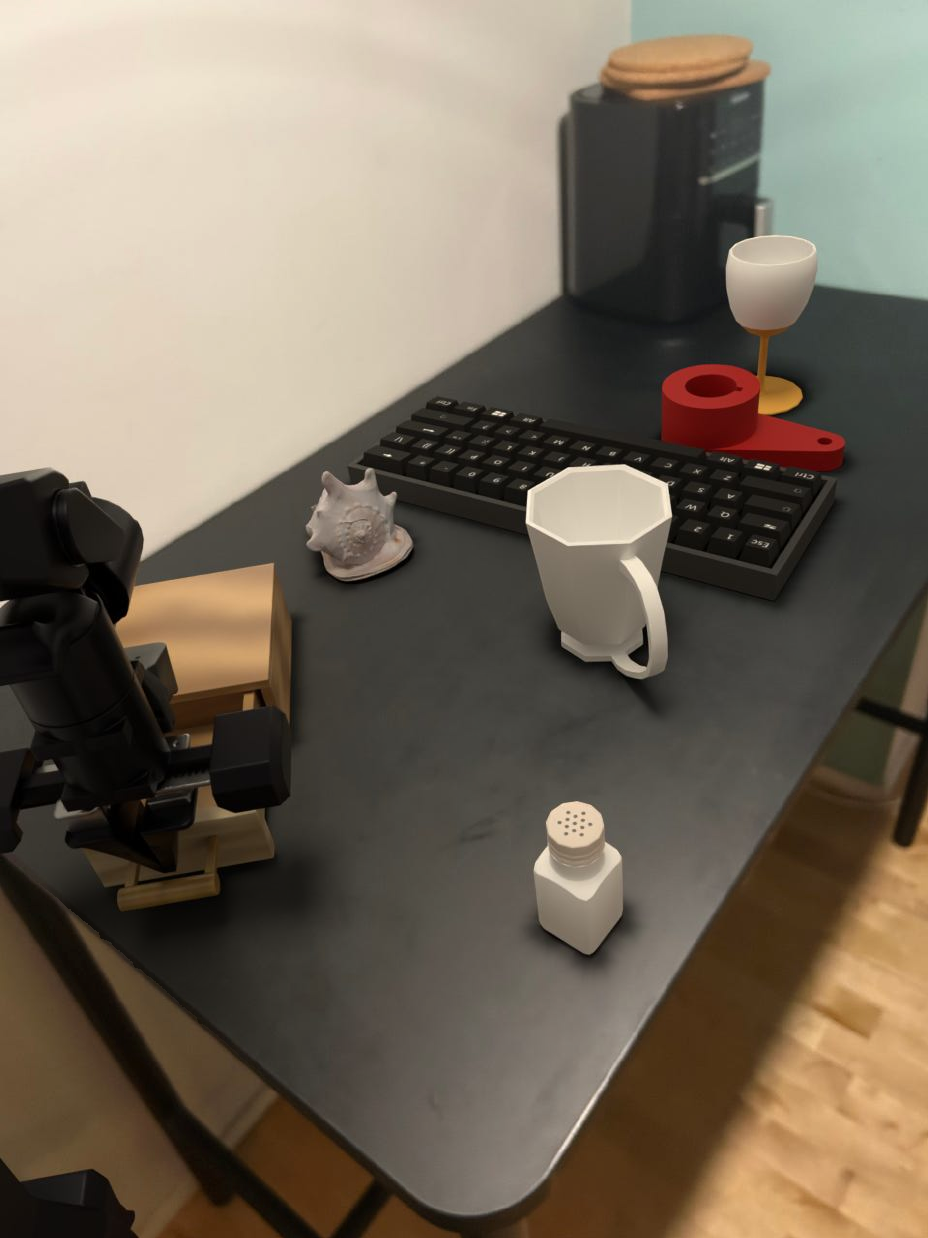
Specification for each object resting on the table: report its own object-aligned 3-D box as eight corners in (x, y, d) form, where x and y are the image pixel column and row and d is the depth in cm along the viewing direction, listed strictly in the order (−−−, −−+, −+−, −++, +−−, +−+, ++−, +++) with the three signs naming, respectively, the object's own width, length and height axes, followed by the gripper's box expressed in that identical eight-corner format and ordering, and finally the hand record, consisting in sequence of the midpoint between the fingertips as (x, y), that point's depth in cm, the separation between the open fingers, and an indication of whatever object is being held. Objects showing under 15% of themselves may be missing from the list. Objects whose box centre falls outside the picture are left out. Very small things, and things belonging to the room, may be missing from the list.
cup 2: (700, 392, 108) (707, 248, 98) (766, 370, 110) (779, 227, 100) (751, 424, 102) (764, 274, 91) (820, 399, 104) (840, 250, 94)
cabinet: (289, 741, 74) (268, 679, 69) (125, 769, 73) (94, 708, 69) (292, 622, 85) (274, 562, 81) (150, 646, 85) (125, 587, 80)
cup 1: (635, 577, 84) (634, 448, 76) (727, 696, 72) (739, 557, 64) (513, 613, 82) (500, 484, 74) (588, 741, 70) (581, 603, 62)
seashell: (337, 600, 87) (315, 514, 81) (278, 545, 95) (253, 462, 89) (430, 553, 90) (415, 467, 84) (365, 503, 98) (347, 422, 92)
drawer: (272, 913, 61) (252, 868, 58) (93, 945, 61) (64, 901, 58) (279, 716, 75) (264, 671, 72) (133, 741, 74) (111, 697, 71)
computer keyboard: (833, 502, 89) (839, 466, 87) (774, 601, 79) (778, 563, 77) (436, 418, 111) (431, 387, 108) (352, 487, 101) (344, 455, 99)
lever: (648, 460, 99) (649, 401, 94) (678, 417, 105) (679, 359, 100) (831, 489, 91) (840, 426, 87) (851, 440, 97) (861, 379, 93)
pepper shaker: (573, 882, 61) (565, 784, 55) (627, 914, 59) (625, 815, 53) (535, 928, 59) (523, 831, 53) (590, 962, 57) (584, 866, 51)
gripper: (261, 569, 57) (317, 748, 67) (-53, 622, 57) (50, 794, 67) (252, 698, 48) (318, 881, 58) (-118, 762, 48) (12, 935, 58)
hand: (171, 866), depth 61 cm, fingers closed
